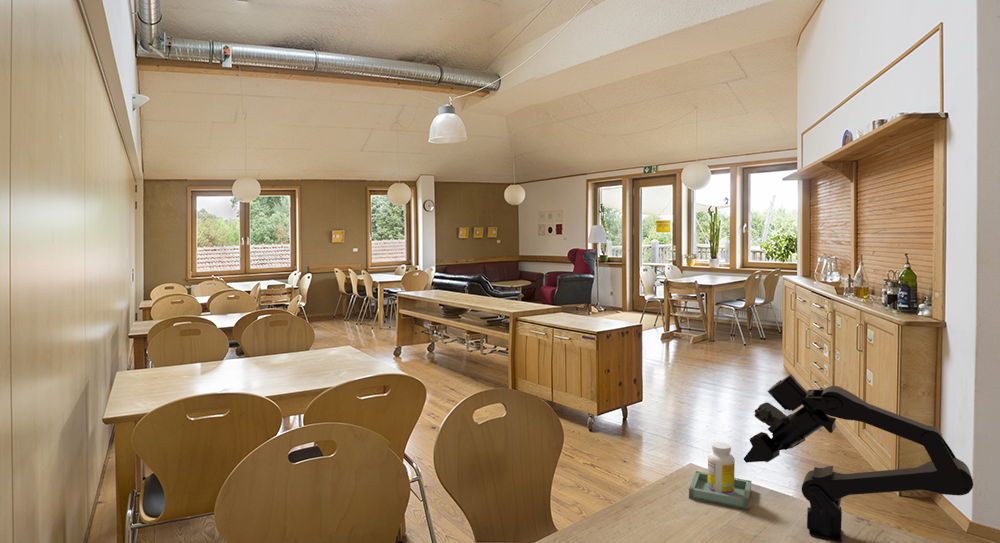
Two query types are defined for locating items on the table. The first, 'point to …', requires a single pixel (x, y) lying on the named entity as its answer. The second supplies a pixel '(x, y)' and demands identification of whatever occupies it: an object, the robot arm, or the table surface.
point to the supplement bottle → (721, 469)
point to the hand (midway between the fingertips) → (753, 455)
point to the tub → (702, 493)
